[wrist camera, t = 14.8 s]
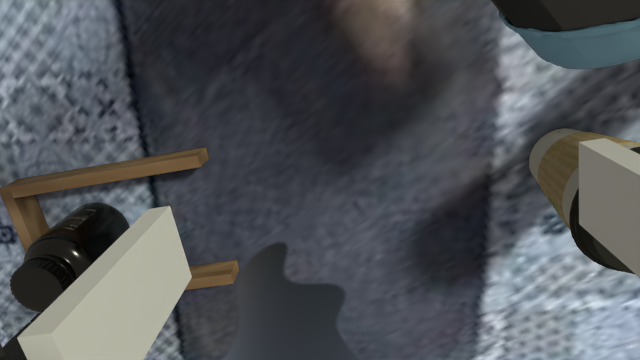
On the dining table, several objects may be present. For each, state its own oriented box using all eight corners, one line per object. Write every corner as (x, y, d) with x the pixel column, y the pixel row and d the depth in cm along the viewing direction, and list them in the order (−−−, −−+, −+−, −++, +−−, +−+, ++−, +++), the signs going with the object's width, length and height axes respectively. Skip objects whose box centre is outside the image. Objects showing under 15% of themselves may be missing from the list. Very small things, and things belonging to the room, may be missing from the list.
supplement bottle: (65, 241, 52) (-11, 303, 41) (81, 190, 50) (4, 241, 39) (123, 265, 53) (63, 333, 42) (141, 216, 51) (83, 273, 40)
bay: (10, 180, 50) (-25, 197, 45) (206, 147, 48) (190, 161, 43) (67, 315, 56) (41, 343, 51) (245, 291, 53) (235, 318, 49)
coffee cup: (528, 218, 49) (603, 301, 34) (496, 135, 46) (563, 189, 32) (624, 180, 47) (745, 252, 33) (596, 92, 44) (716, 128, 30)
